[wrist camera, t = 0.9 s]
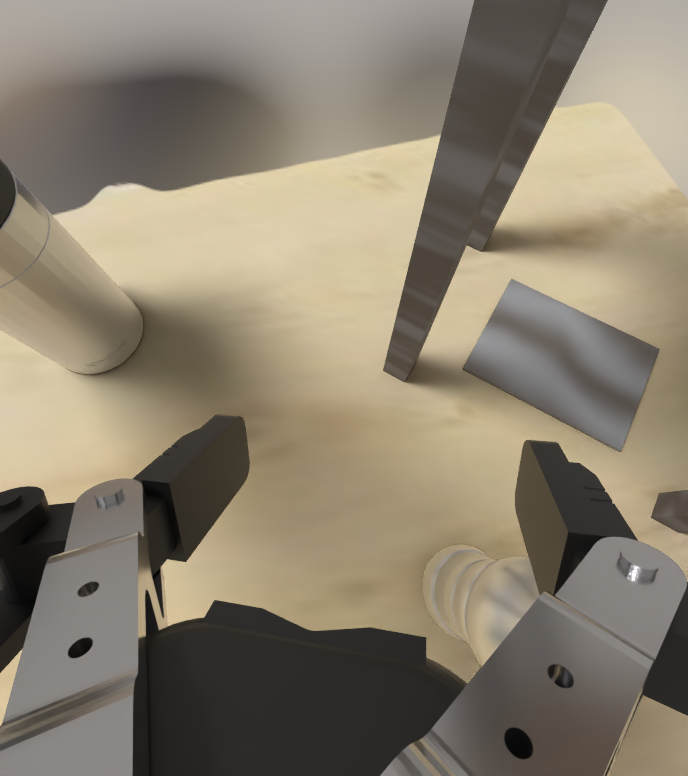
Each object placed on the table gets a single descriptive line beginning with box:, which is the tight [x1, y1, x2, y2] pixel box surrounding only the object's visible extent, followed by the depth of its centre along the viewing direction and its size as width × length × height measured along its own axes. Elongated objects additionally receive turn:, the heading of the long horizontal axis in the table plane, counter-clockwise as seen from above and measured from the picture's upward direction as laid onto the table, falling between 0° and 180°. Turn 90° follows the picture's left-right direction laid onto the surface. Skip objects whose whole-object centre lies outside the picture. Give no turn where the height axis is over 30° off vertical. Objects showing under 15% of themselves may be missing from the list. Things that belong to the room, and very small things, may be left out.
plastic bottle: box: [422, 545, 643, 698], centre depth 24 cm, size 6×7×20 cm
